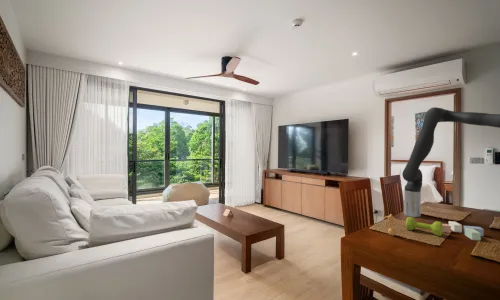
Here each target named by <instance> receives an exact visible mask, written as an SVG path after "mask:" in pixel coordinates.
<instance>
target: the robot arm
mask: <svg viewBox="0 0 500 300" xmlns="http://www.w3.org/2000/svg"><path fill="white" fill-rule="evenodd" d="M444 122H445V123H447V122H448V123H453V122H454V123H461V124H466V125H474V126H480V127H482V126H483V127H487V126H488V127H490V128H491V127H493V128H500V113H496V114H495V113H487V112H476V111H475V112H471V111H468V112H467V111H465V112H464V111H454V110H448V109H445V108H442V107H434V106H433V107H429V109H427V111H426V113H425V115H424V118H423V122H422V126H421V129H420V131H419V134H418V137H417V138H416V141H415V144H414V147H413V149H412V152H411V154H410V157H409V159H408V161H407V163H406V165H405V167H404V169H403V171H402V174H401V176H402V178H403V180H405V181H406V184H405V185H404V200H403V214H404V216H406V217H413V218H420V217H421V216H422V215H421V214H422V213H421V211H422V207H421V206H422V205H421V204H422V203H421V201H422V200H421V198H422V197H421V196H422V195H421V194H422V191H421V189H422V187H423V173H422V170H420V166H421V164H422V163H423V162H424V160H425V159H426V158H427V157H428V155H430V153H431V150H432V148H433V146H434V142H435V130H436V127H437V125H438V123H444Z"/></svg>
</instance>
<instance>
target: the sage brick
mask: <svg viewBox="0 0 500 300" xmlns="http://www.w3.org/2000/svg"><path fill="white" fill-rule="evenodd" d="M464 236H465V237H467V238H468V239H470V240H472V241H481V237H482V236H481V233H479V232H478V231H476V230H474V229H472V228H465V233H464Z"/></svg>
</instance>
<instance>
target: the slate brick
mask: <svg viewBox="0 0 500 300" xmlns="http://www.w3.org/2000/svg"><path fill="white" fill-rule="evenodd" d="M465 228H472V229H474V230H476V231H478V232H479V233H481V237H484V231H485V230H484V228H482V227H481V226H473V225H471V226H470V225H463V234H465Z"/></svg>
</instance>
